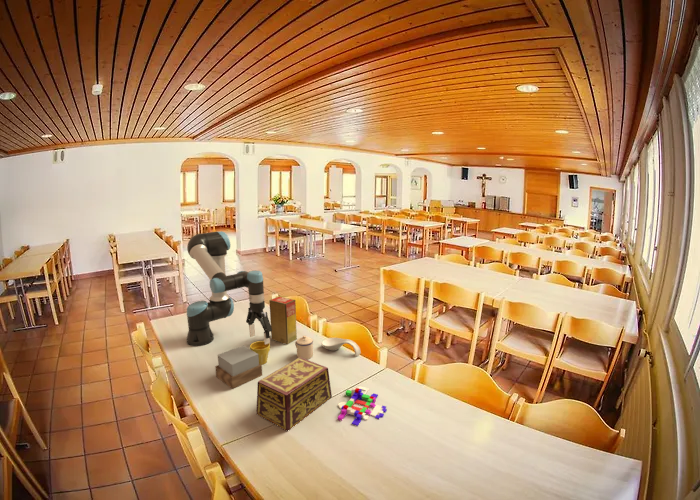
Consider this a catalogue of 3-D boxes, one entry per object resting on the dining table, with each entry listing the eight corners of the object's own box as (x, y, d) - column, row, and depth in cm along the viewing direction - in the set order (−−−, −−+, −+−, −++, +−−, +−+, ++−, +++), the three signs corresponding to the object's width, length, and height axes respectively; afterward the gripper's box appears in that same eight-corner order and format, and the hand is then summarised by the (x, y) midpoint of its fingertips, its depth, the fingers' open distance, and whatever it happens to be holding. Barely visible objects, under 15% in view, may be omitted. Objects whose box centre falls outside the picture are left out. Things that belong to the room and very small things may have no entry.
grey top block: (218, 366, 182) (217, 354, 181) (244, 355, 192) (243, 345, 190) (233, 376, 172) (232, 364, 171) (259, 365, 182) (258, 354, 181)
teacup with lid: (317, 355, 203) (316, 335, 200) (304, 361, 196) (303, 341, 194) (302, 348, 210) (301, 329, 208) (289, 354, 204) (288, 335, 201)
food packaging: (297, 338, 223) (296, 299, 218) (287, 344, 216) (285, 304, 210) (281, 333, 230) (279, 295, 225) (270, 339, 223) (268, 300, 217)
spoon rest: (317, 349, 210) (317, 337, 209) (329, 341, 220) (329, 330, 218) (353, 360, 198) (353, 347, 196) (364, 351, 208) (364, 339, 206)
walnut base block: (216, 377, 183) (215, 366, 182) (245, 365, 194) (244, 354, 193) (232, 389, 172) (232, 378, 171) (262, 376, 183) (261, 365, 182)
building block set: (374, 432, 143) (374, 422, 142) (327, 417, 152) (327, 408, 151) (395, 397, 165) (395, 388, 164) (353, 386, 174) (353, 377, 173)
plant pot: (274, 358, 200) (273, 342, 198) (264, 368, 190) (262, 350, 188) (257, 356, 203) (256, 339, 201) (246, 365, 193) (245, 347, 191)
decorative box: (287, 432, 143) (285, 397, 140) (255, 414, 154) (253, 381, 151) (332, 397, 165) (331, 366, 162) (301, 384, 176) (300, 355, 173)
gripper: (237, 297, 195) (240, 335, 199) (264, 308, 178) (267, 349, 182) (250, 294, 200) (252, 331, 205) (277, 304, 184) (279, 344, 188)
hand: (259, 339), depth 194 cm, fingers open, 13 cm apart
